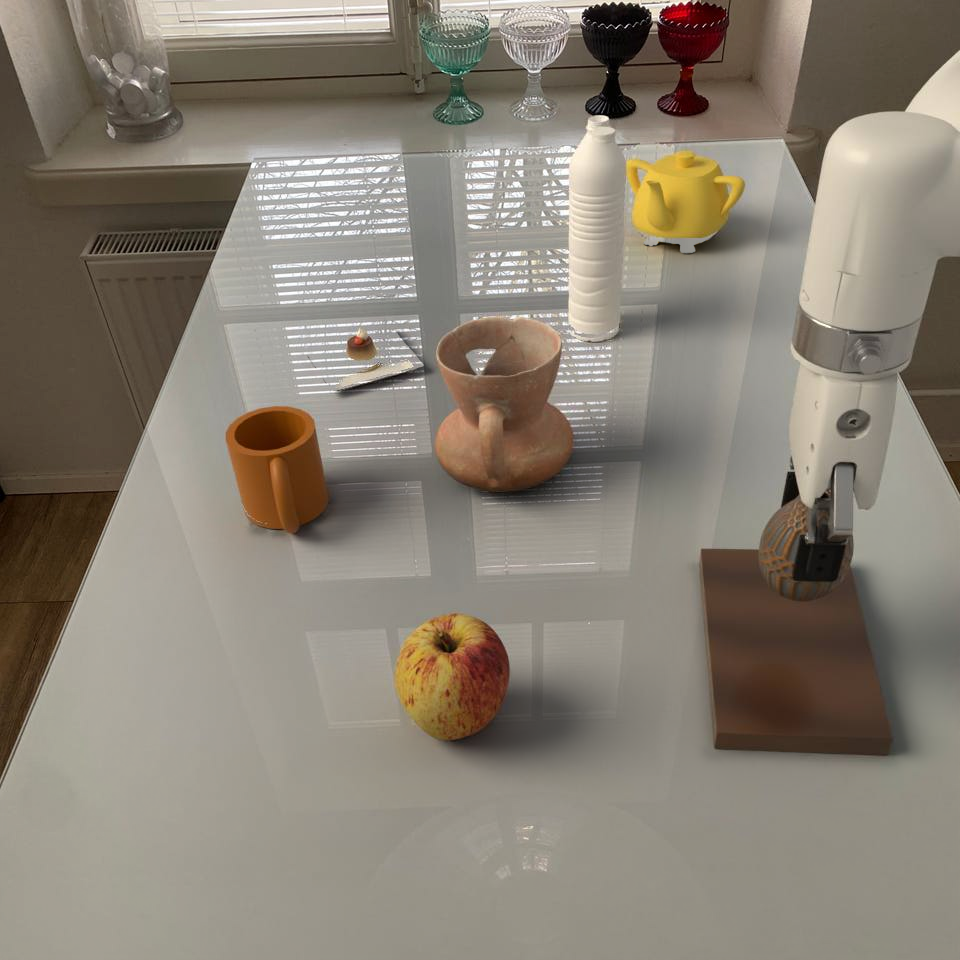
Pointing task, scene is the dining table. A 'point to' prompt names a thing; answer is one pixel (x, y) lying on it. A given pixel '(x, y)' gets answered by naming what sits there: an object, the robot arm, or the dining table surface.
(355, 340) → the pudding and tray
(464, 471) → the ceramic jug
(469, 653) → the apple
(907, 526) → the dining table surface
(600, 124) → the water bottle
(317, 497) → the mug
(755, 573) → the walnut board
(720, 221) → the teapot
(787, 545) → the vase
